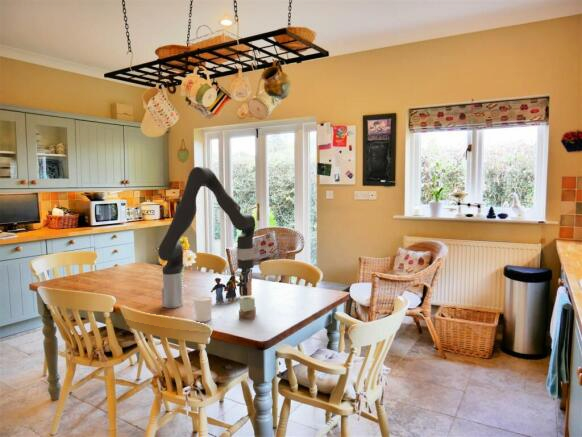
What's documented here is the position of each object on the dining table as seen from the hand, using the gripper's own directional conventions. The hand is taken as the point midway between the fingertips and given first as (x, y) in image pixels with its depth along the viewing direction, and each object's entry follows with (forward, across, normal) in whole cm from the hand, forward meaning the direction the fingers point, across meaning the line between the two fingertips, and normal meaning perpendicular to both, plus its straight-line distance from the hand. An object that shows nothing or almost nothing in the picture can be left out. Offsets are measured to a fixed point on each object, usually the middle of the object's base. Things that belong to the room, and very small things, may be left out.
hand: (246, 293), depth 194 cm
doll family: (+12, -25, -16) cm, 32 cm away
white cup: (+11, +6, -19) cm, 23 cm away
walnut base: (+12, 0, 0) cm, 12 cm away
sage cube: (+7, 0, 0) cm, 7 cm away
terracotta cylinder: (+1, 0, 0) cm, 1 cm away
